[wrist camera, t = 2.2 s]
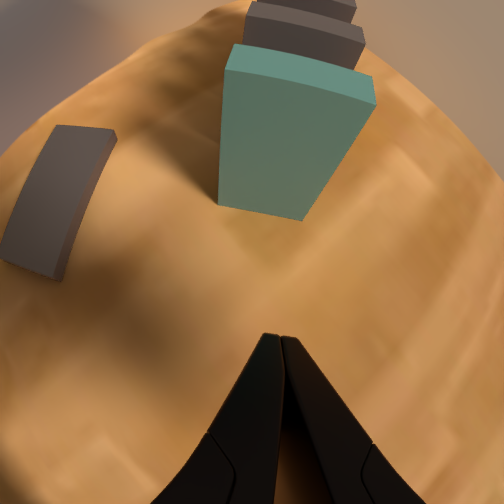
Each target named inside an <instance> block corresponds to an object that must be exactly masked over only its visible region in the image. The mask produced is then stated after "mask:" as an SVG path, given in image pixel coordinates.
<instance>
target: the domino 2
mask: <svg viewBox="0 0 504 504" xmlns="http://www.w3.org/2000/svg"><path fill="white" fill-rule="evenodd" d="M365 44H366V43H365V39H364V34H363V30H362V28H361V27H359V26H356V25H352V24H350V23H346V22H343V21H340V20H337V19H333V18H330V17H326V16H322V15H319V14H315V13H311V12H307V11H302V10H298V9H293V8H289V7H284V6H279V5H273V4H268V3H261V2H255V1H252V3H251V5H250V7H249V9H248V12H247V14H246V19H245V27H244V35H243V42H242V45H247V46H254V47H259V48H265V49H270V50H276V51H281V52H285V53H290V54H295V55H299V56H303V57H307V58H311V59H315V60H319V61H323V62H326V63H330V64H333V65H337V66H340V67H344V68H347V69H350V70H354V68H355V66H356V64H357V62H358V60H359V57H360V55H361V53H362V51H363V49H364V47H365Z"/></svg>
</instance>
